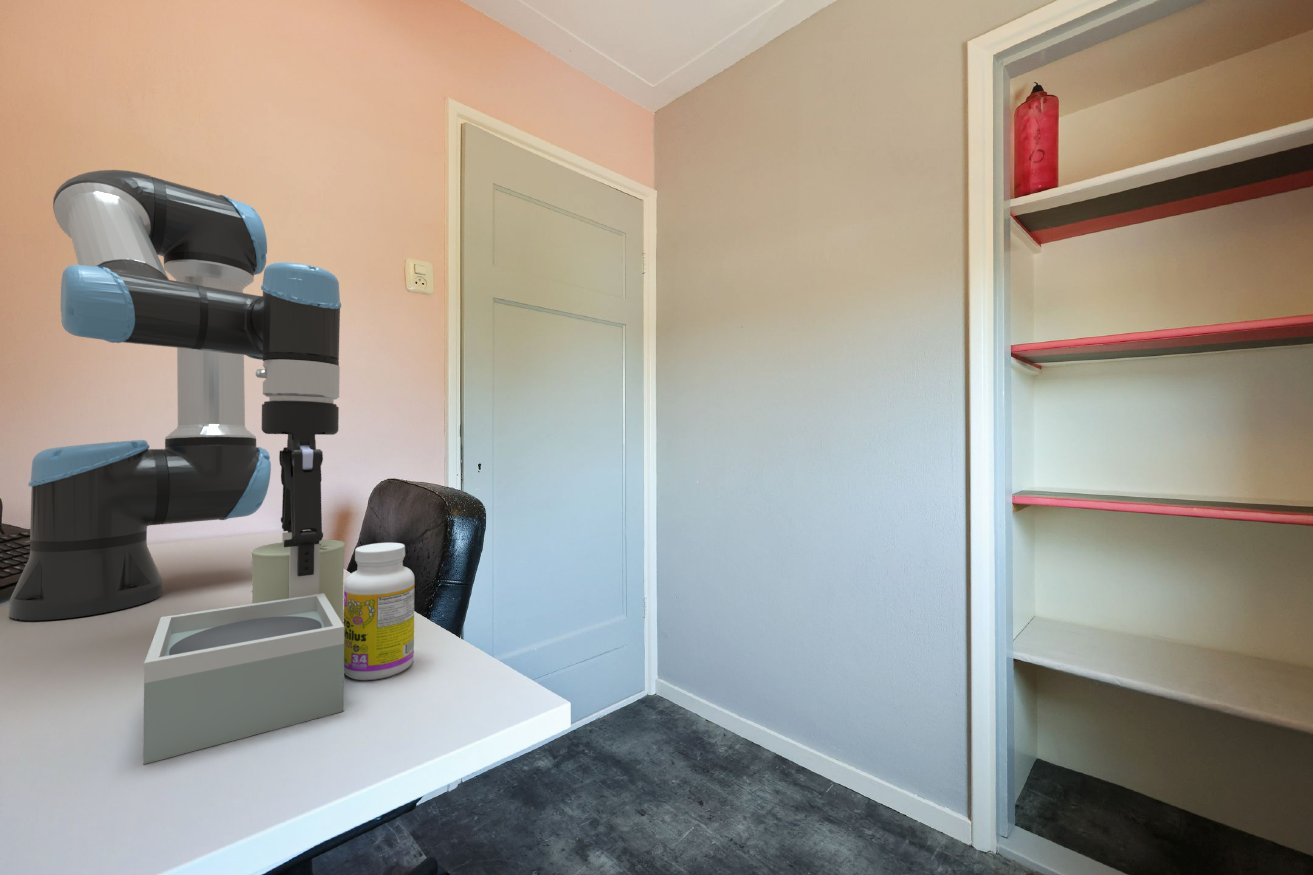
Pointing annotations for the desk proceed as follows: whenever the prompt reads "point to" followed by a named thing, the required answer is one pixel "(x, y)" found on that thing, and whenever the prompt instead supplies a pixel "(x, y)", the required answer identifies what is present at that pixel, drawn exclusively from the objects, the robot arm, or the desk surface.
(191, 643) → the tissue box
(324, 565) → the can
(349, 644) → the supplement bottle
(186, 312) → the robot arm
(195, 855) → the desk surface
